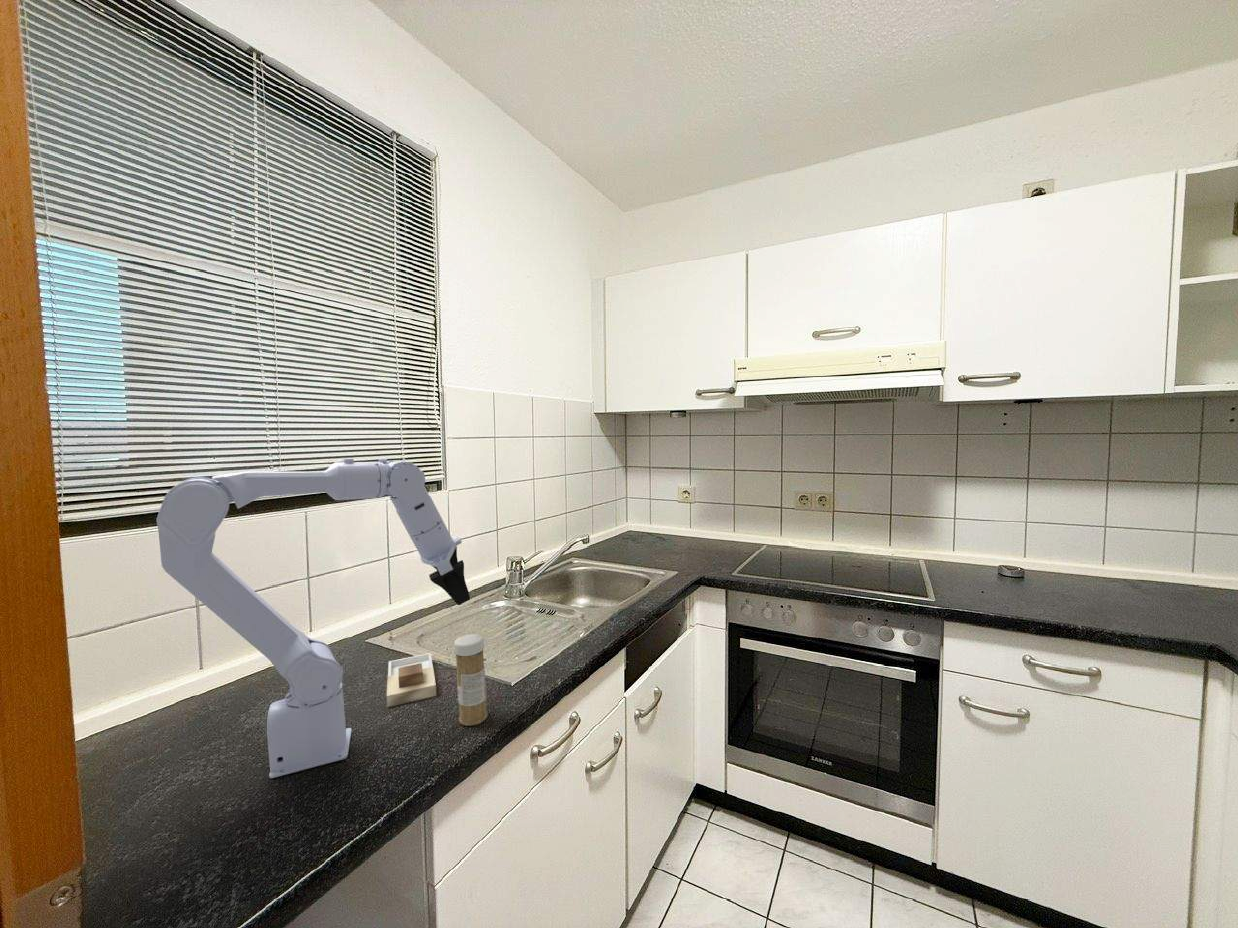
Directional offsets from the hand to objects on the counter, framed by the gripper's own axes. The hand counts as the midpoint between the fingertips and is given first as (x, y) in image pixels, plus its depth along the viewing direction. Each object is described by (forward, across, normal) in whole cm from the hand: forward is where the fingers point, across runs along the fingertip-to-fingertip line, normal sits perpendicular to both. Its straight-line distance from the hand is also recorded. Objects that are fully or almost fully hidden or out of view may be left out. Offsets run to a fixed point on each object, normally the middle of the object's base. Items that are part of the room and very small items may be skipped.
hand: (461, 593), depth 87 cm
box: (+15, +13, +16) cm, 26 cm away
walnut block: (+13, +5, +15) cm, 20 cm away
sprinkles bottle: (+17, -10, +7) cm, 21 cm away
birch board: (+15, +5, +16) cm, 22 cm away
